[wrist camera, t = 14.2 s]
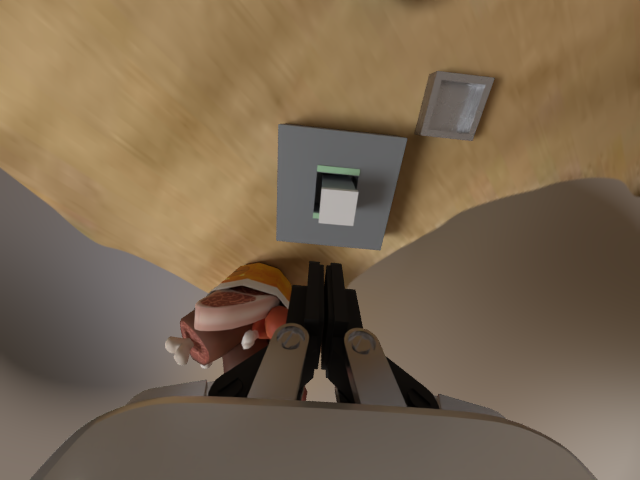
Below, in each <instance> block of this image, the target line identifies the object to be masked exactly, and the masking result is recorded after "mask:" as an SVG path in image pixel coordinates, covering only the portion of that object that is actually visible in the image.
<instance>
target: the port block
mask: <svg viewBox="0 0 640 480" xmlns="http://www.w3.org/2000/svg"><path fill="white" fill-rule="evenodd" d="M406 142H407V138H404V137H400V136H393V135H384V134H375V133H366V132H357V131H347V130H338V129H329V128H320V127H310V126H301V125H292V124H279V125H278V180H277V236H276V241H286V242H296V243H307V244H318V245H328V246H339V247H350V248H361V249H371V250H381V246H382V242H383V237H384V233H385V229H386V225H387V221H388V217H389V213H390V209H391V204H392V200H393V196H394V192H395V188H396V184H397V180H398V175H399V171H400V167H401V163H402V159H403V155H404V151H405V146H406ZM323 173H328V174H339V175H349V176H350V178H351V180H352V182H353V184H354V186H355V189H356V190H358V192H359V193H358V199H357V205H356V211H355V217H354V223H353V226H346V225H335V224H323V223H319V212H320V199H321V188H322V177H323Z"/></svg>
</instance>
